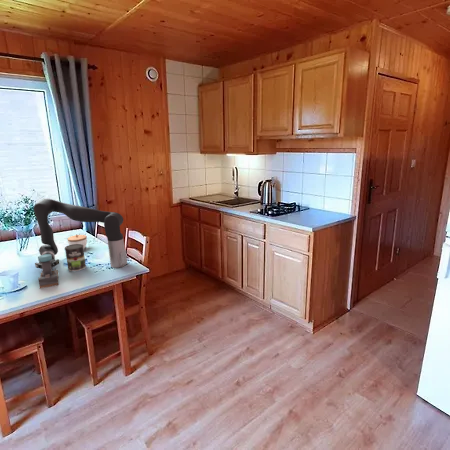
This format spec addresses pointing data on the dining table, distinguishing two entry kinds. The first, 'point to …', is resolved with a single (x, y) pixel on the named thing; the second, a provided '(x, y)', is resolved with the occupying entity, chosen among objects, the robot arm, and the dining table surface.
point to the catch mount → (48, 279)
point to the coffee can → (75, 257)
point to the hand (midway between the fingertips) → (46, 268)
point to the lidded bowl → (78, 240)
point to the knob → (46, 263)
